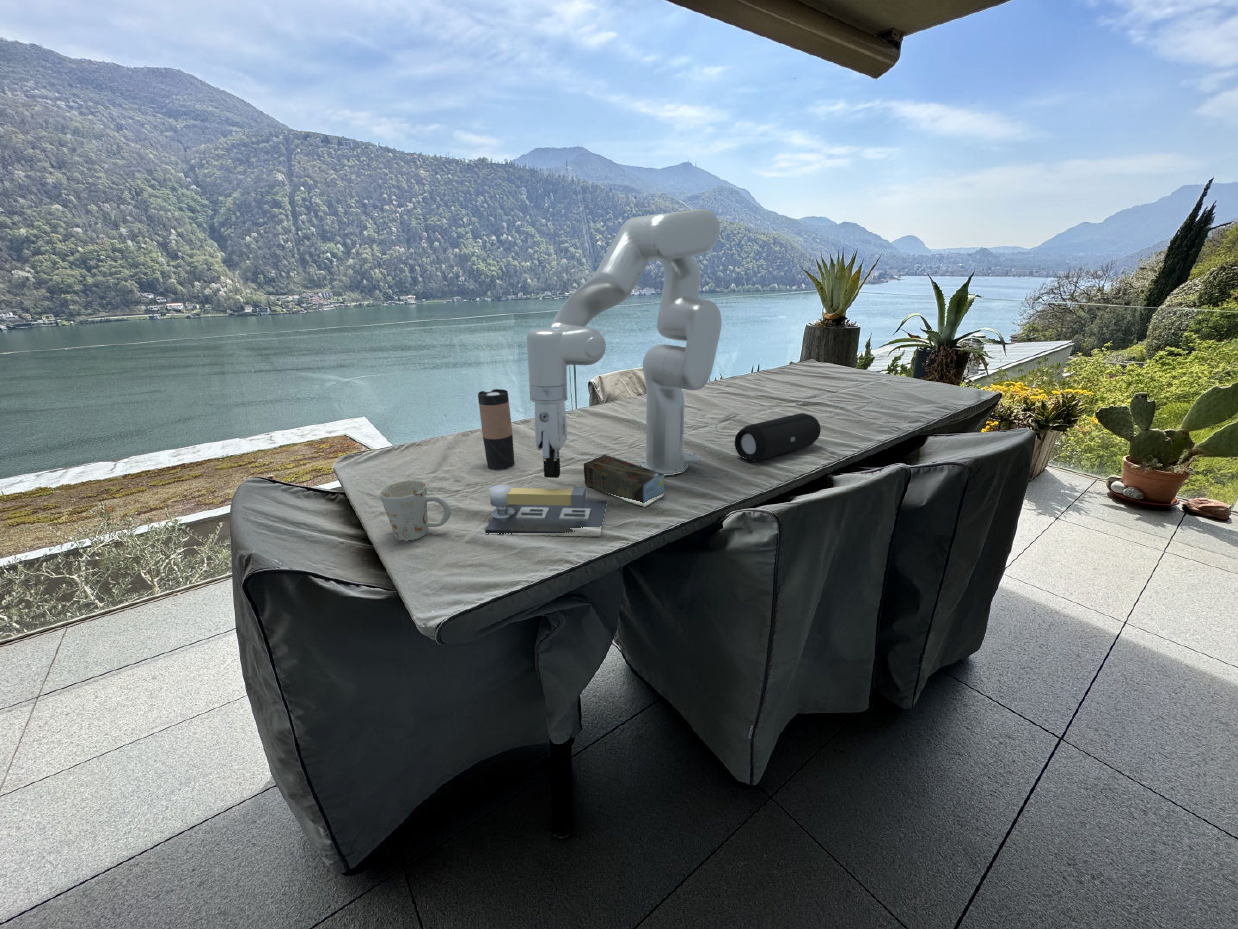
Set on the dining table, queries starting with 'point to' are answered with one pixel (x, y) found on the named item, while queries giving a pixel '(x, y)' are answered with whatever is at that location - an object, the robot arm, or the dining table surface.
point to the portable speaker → (777, 436)
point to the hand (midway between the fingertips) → (552, 476)
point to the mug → (410, 508)
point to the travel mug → (496, 428)
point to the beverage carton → (623, 478)
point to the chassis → (545, 518)
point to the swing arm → (537, 496)
